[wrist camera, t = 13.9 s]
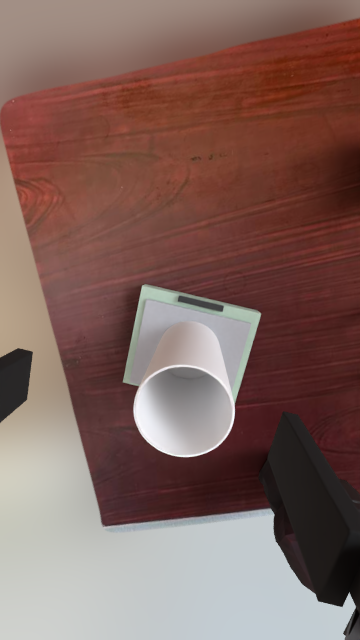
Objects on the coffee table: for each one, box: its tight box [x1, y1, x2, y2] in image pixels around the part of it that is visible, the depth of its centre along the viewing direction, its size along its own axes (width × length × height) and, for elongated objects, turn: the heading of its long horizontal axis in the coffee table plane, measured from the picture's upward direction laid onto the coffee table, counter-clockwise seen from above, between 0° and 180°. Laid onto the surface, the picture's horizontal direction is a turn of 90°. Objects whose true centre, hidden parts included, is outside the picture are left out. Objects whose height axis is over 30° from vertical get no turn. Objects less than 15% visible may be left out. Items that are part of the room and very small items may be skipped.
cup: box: [134, 321, 235, 457], centre depth 31 cm, size 8×8×16 cm
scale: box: [123, 284, 261, 404], centre depth 41 cm, size 16×14×3 cm
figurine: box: [259, 459, 315, 593], centre depth 38 cm, size 10×7×15 cm
